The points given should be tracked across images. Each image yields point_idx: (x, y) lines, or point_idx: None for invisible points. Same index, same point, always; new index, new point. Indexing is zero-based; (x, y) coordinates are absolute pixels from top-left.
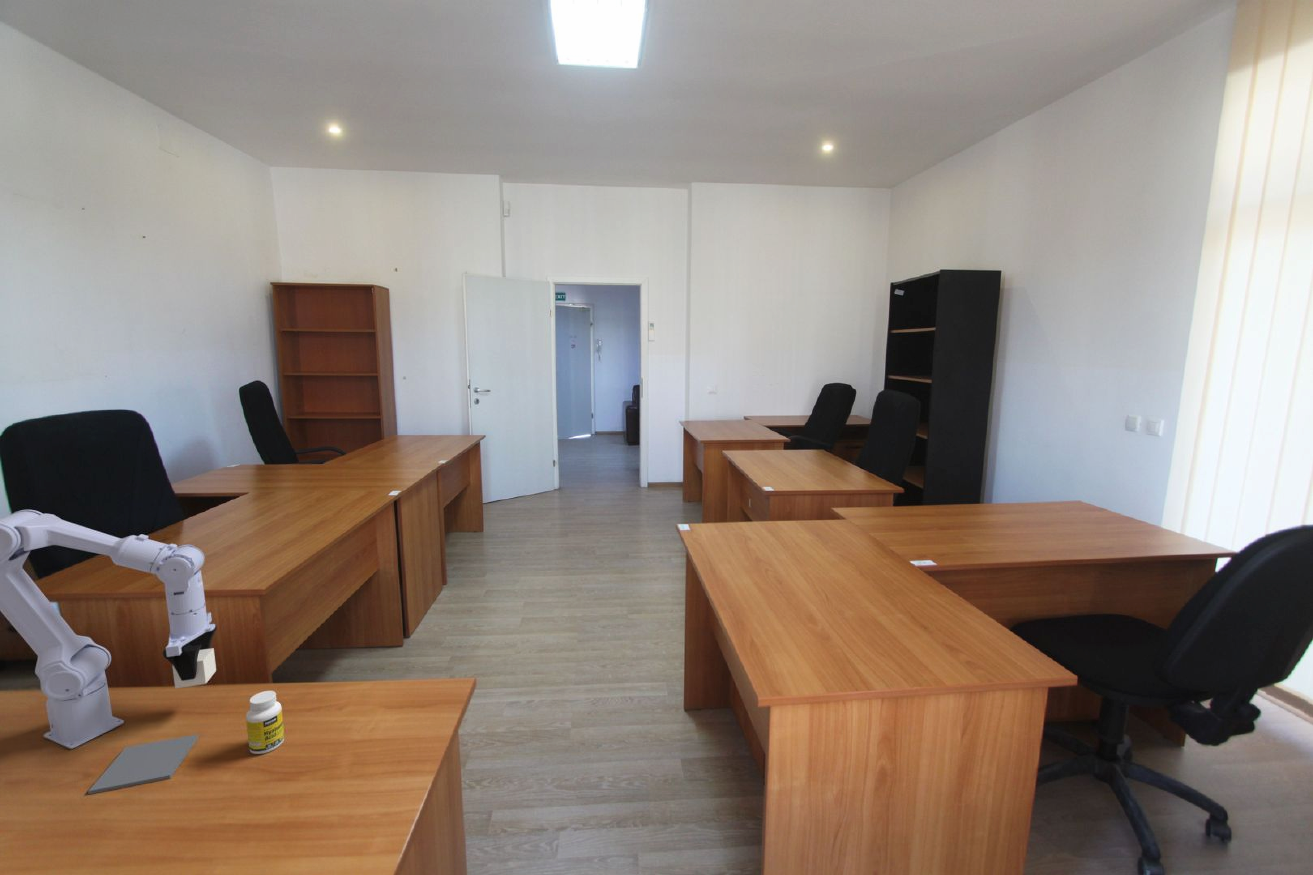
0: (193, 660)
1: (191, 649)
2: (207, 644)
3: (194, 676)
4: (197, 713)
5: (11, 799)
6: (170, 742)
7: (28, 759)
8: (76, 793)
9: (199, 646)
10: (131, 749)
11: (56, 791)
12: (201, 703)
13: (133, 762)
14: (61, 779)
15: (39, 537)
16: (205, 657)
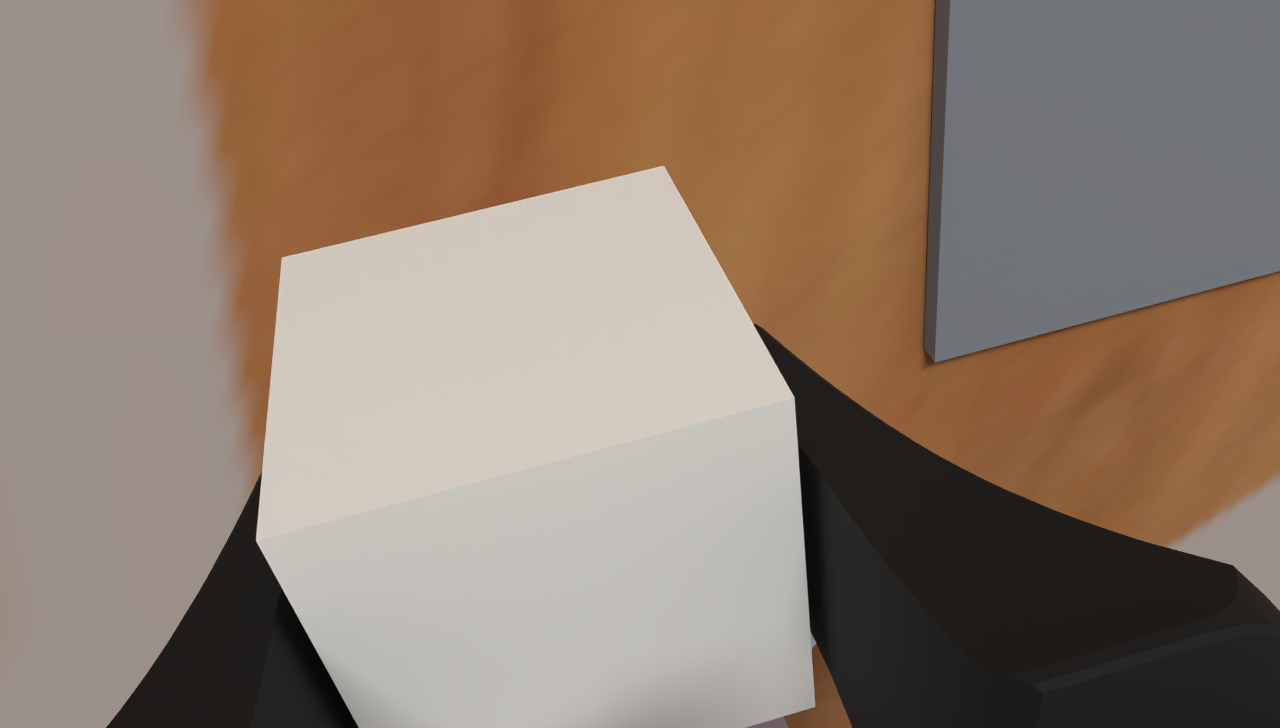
0: (1004, 495)
1: (1224, 709)
2: (272, 695)
3: (770, 336)
4: (524, 149)
5: None
6: (997, 76)
7: (837, 720)
8: (1270, 314)
9: (1139, 661)
10: (981, 306)
11: (1192, 423)
12: (350, 222)
13: (1156, 186)
14: (1088, 475)
15: None
16: (675, 430)
